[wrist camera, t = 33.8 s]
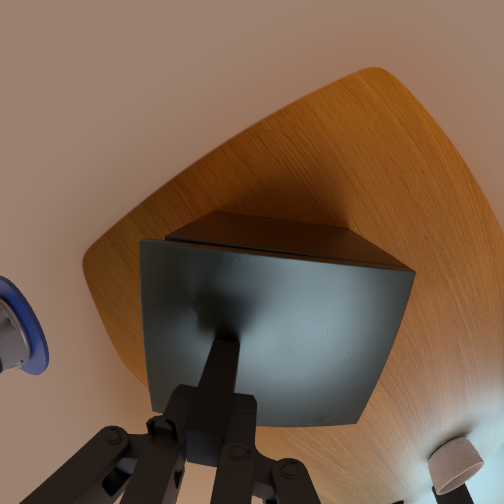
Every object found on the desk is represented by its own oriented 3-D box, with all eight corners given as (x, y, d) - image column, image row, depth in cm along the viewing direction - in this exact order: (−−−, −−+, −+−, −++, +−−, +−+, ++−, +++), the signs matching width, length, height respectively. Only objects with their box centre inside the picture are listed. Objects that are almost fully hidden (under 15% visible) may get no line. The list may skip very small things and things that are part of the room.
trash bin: (204, 318, 32) (168, 398, 18) (212, 210, 28) (164, 236, 15) (326, 333, 31) (354, 416, 18) (349, 229, 28) (409, 267, 15)
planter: (471, 437, 38) (487, 465, 27) (432, 467, 40) (444, 496, 30) (460, 426, 36) (479, 458, 25) (416, 459, 39) (429, 493, 28)
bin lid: (155, 404, 17) (152, 411, 17) (144, 238, 14) (139, 241, 13) (354, 417, 18) (356, 423, 17) (410, 267, 15) (416, 271, 14)
